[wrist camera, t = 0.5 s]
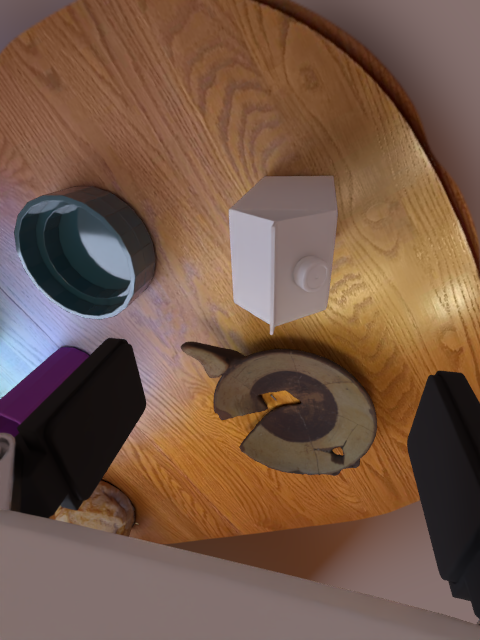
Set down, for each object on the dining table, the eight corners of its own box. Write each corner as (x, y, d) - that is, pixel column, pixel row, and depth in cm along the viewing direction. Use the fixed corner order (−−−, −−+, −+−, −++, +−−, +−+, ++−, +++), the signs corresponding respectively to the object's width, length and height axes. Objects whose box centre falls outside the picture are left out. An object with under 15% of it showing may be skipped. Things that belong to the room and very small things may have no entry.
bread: (86, 521, 94) (53, 584, 82) (26, 468, 80) (-24, 535, 68) (159, 526, 86) (135, 597, 75) (107, 468, 72) (66, 544, 60)
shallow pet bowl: (33, 185, 40) (-7, 194, 36) (145, 185, 37) (117, 195, 32) (71, 294, 48) (42, 314, 43) (165, 301, 45) (145, 324, 40)
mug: (82, 340, 53) (8, 408, 41) (131, 407, 59) (80, 484, 47) (44, 350, 57) (-34, 416, 44) (95, 413, 63) (39, 486, 51)
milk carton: (263, 241, 38) (219, 330, 22) (263, 175, 34) (210, 225, 18) (326, 244, 36) (327, 340, 21) (333, 175, 33) (341, 227, 17)
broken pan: (261, 456, 59) (253, 497, 52) (175, 322, 47) (152, 355, 40) (392, 441, 50) (402, 488, 43) (327, 270, 38) (327, 301, 31)
